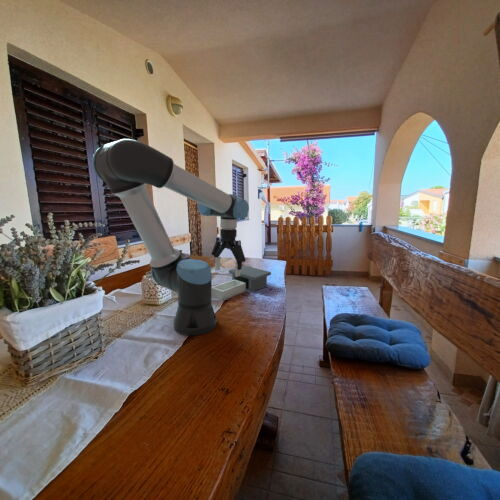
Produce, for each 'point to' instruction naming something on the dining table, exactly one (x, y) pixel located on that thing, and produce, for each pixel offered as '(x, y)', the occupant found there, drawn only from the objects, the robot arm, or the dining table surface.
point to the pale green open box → (228, 289)
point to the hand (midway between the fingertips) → (227, 273)
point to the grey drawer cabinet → (252, 277)
